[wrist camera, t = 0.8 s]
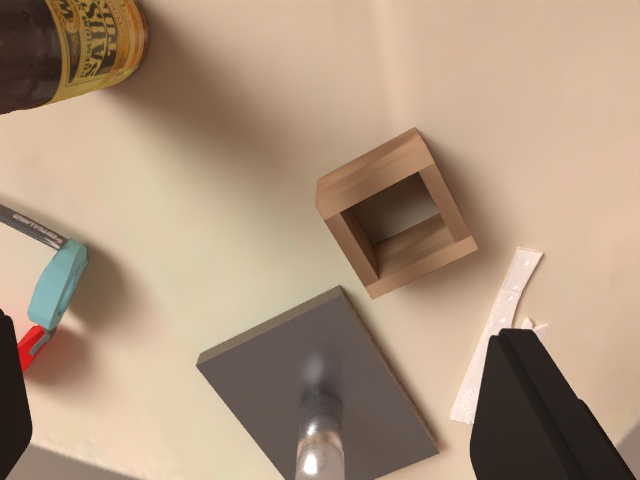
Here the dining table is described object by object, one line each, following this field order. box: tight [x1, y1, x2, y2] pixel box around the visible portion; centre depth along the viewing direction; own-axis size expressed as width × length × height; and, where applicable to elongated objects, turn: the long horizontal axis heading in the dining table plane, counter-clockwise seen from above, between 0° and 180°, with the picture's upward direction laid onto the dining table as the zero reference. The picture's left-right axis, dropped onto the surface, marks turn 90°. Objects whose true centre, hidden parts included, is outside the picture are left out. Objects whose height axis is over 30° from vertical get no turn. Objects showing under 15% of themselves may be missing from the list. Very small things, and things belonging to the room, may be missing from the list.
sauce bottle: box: [0, 0, 148, 115], centre depth 24 cm, size 7×6×20 cm
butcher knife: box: [449, 246, 551, 425], centre depth 41 cm, size 5×15×1 cm, turn 167°
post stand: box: [196, 285, 439, 480], centre depth 40 cm, size 12×16×8 cm
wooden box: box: [316, 127, 478, 300], centre depth 35 cm, size 7×7×5 cm
